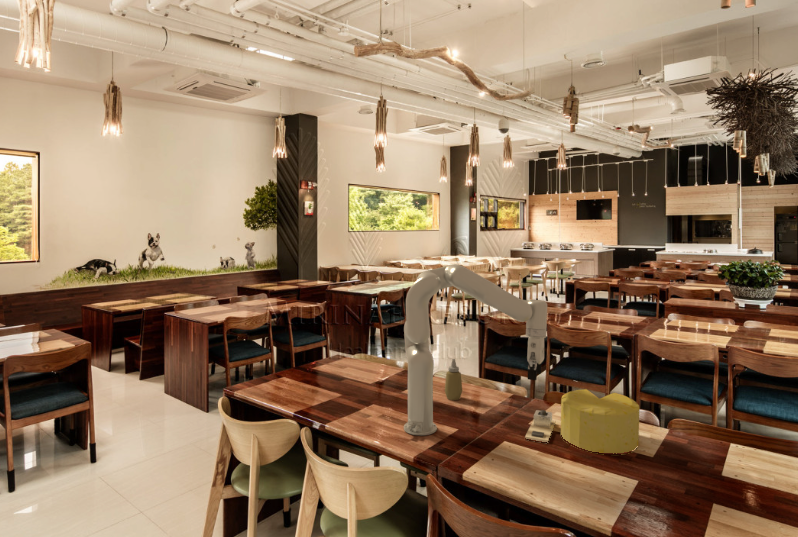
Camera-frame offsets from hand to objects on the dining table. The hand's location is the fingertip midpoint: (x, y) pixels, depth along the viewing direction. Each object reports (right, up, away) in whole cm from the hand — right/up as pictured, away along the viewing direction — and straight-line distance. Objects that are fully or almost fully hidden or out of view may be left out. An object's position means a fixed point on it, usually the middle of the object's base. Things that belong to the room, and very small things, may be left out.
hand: (534, 376), depth 187 cm
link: (+3, -18, 0) cm, 19 cm away
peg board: (+1, -20, -4) cm, 20 cm away
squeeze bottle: (-27, -18, +34) cm, 47 cm away
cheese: (+20, -21, -11) cm, 31 cm away
